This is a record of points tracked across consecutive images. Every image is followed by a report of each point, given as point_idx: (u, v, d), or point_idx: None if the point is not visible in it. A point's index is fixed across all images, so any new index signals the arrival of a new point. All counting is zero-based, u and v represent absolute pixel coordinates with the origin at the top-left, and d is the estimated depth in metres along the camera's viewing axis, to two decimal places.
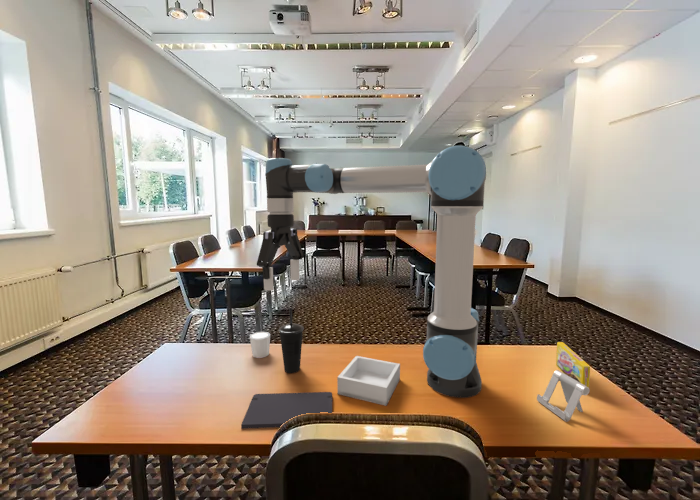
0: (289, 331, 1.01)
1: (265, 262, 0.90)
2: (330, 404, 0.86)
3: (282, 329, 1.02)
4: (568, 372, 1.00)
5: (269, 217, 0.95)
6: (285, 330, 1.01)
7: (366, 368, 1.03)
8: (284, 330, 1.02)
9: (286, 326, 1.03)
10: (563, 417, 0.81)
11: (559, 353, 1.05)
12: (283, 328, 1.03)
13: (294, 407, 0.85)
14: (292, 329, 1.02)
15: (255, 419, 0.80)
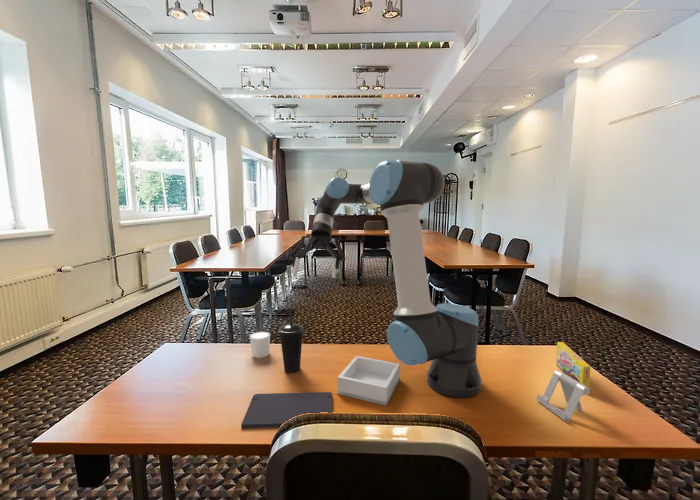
0: (289, 331, 1.01)
1: (291, 253, 1.20)
2: (330, 404, 0.86)
3: (282, 329, 1.02)
4: (568, 372, 1.00)
5: None
6: (285, 330, 1.01)
7: (366, 368, 1.03)
8: (284, 330, 1.02)
9: (286, 326, 1.03)
10: (563, 417, 0.81)
11: (559, 353, 1.05)
12: (283, 328, 1.03)
13: (294, 407, 0.85)
14: (292, 329, 1.02)
15: (255, 419, 0.80)
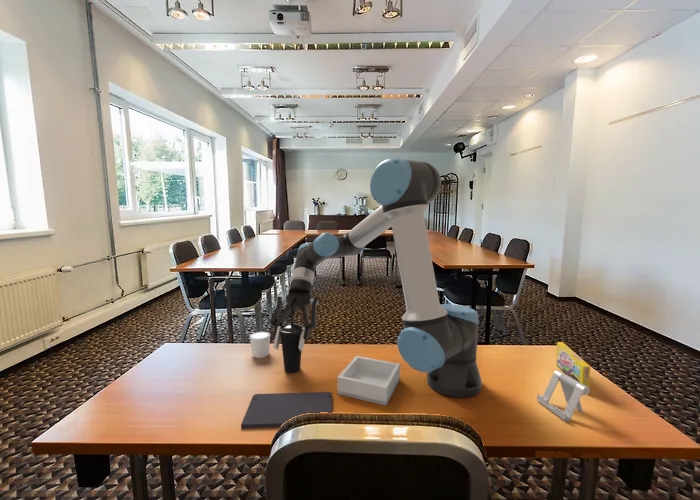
0: (290, 331, 1.01)
1: (272, 320, 1.06)
2: (330, 404, 0.86)
3: (283, 329, 1.02)
4: (568, 372, 1.00)
5: None
6: (286, 330, 1.01)
7: (366, 368, 1.03)
8: (285, 330, 1.02)
9: (287, 326, 1.03)
10: (563, 417, 0.81)
11: (559, 353, 1.05)
12: (284, 328, 1.02)
13: (294, 407, 0.85)
14: (293, 329, 1.02)
15: (255, 419, 0.80)
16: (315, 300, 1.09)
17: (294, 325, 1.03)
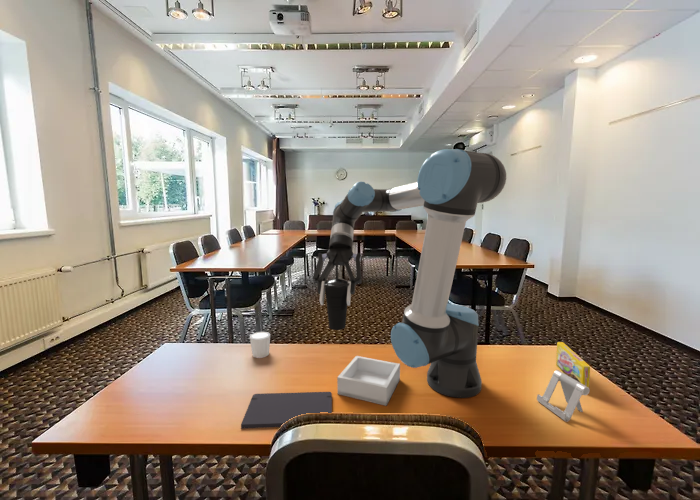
0: (336, 284, 0.95)
1: (314, 276, 1.00)
2: (330, 404, 0.86)
3: (328, 283, 0.96)
4: (568, 373, 1.00)
5: None
6: (332, 283, 0.96)
7: (366, 368, 1.03)
8: (331, 283, 0.96)
9: (332, 280, 0.97)
10: (563, 417, 0.81)
11: (559, 353, 1.05)
12: (329, 282, 0.97)
13: (294, 407, 0.85)
14: (339, 282, 0.96)
15: (255, 419, 0.80)
16: (358, 255, 1.04)
17: (339, 279, 0.98)
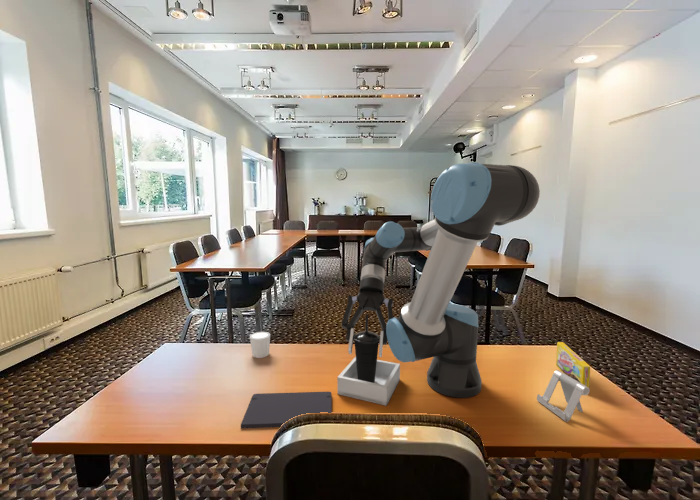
0: (367, 340, 0.92)
1: (343, 321, 0.97)
2: (329, 404, 0.86)
3: (358, 338, 0.93)
4: (568, 372, 1.00)
5: None
6: (362, 339, 0.92)
7: None
8: (361, 339, 0.93)
9: (362, 334, 0.94)
10: (563, 417, 0.81)
11: (559, 353, 1.05)
12: (359, 337, 0.93)
13: (293, 407, 0.85)
14: (370, 338, 0.93)
15: (255, 419, 0.80)
16: (390, 301, 0.99)
17: (369, 333, 0.94)
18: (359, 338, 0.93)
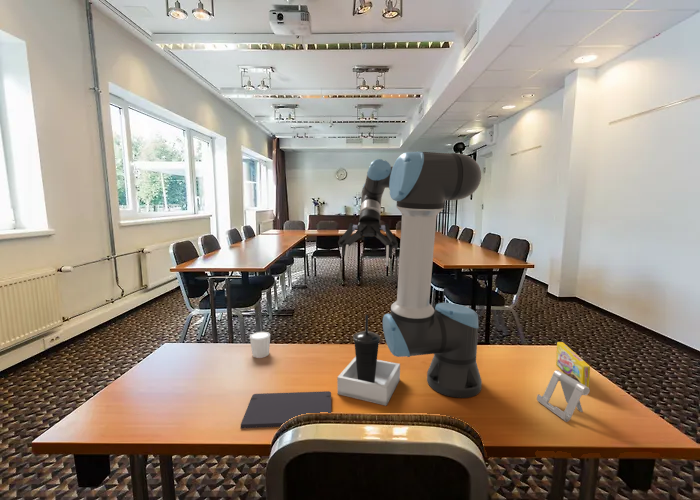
0: (367, 340, 0.92)
1: (340, 240, 1.15)
2: (329, 403, 0.86)
3: (358, 338, 0.93)
4: (568, 372, 1.00)
5: None
6: (362, 339, 0.92)
7: None
8: (361, 339, 0.93)
9: (362, 334, 0.94)
10: (563, 417, 0.81)
11: (559, 353, 1.05)
12: (359, 337, 0.93)
13: (293, 407, 0.85)
14: (370, 338, 0.93)
15: (254, 419, 0.80)
16: (387, 225, 1.17)
17: (369, 333, 0.95)
18: (359, 338, 0.93)
